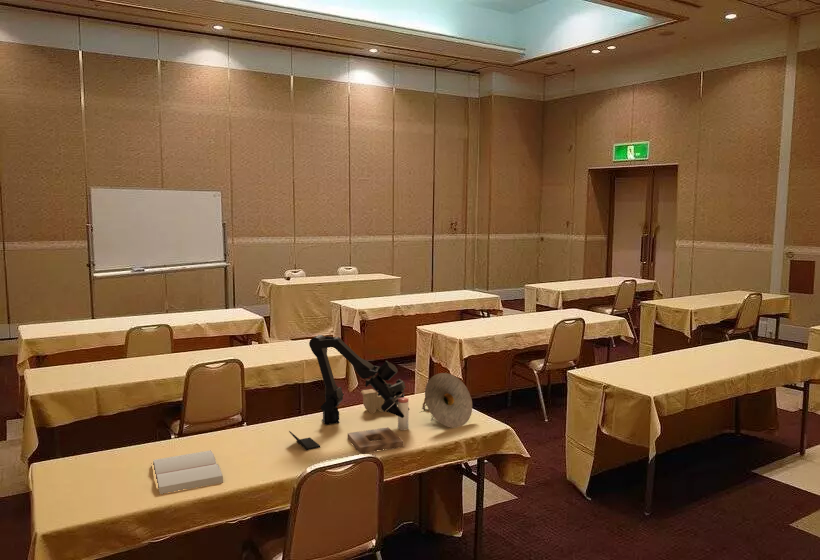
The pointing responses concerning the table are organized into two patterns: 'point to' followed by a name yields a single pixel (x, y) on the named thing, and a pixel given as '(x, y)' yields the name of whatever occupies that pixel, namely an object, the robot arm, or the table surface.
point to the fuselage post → (404, 409)
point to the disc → (448, 400)
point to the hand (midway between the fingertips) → (406, 413)
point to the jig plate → (382, 436)
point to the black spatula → (306, 442)
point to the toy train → (372, 400)
